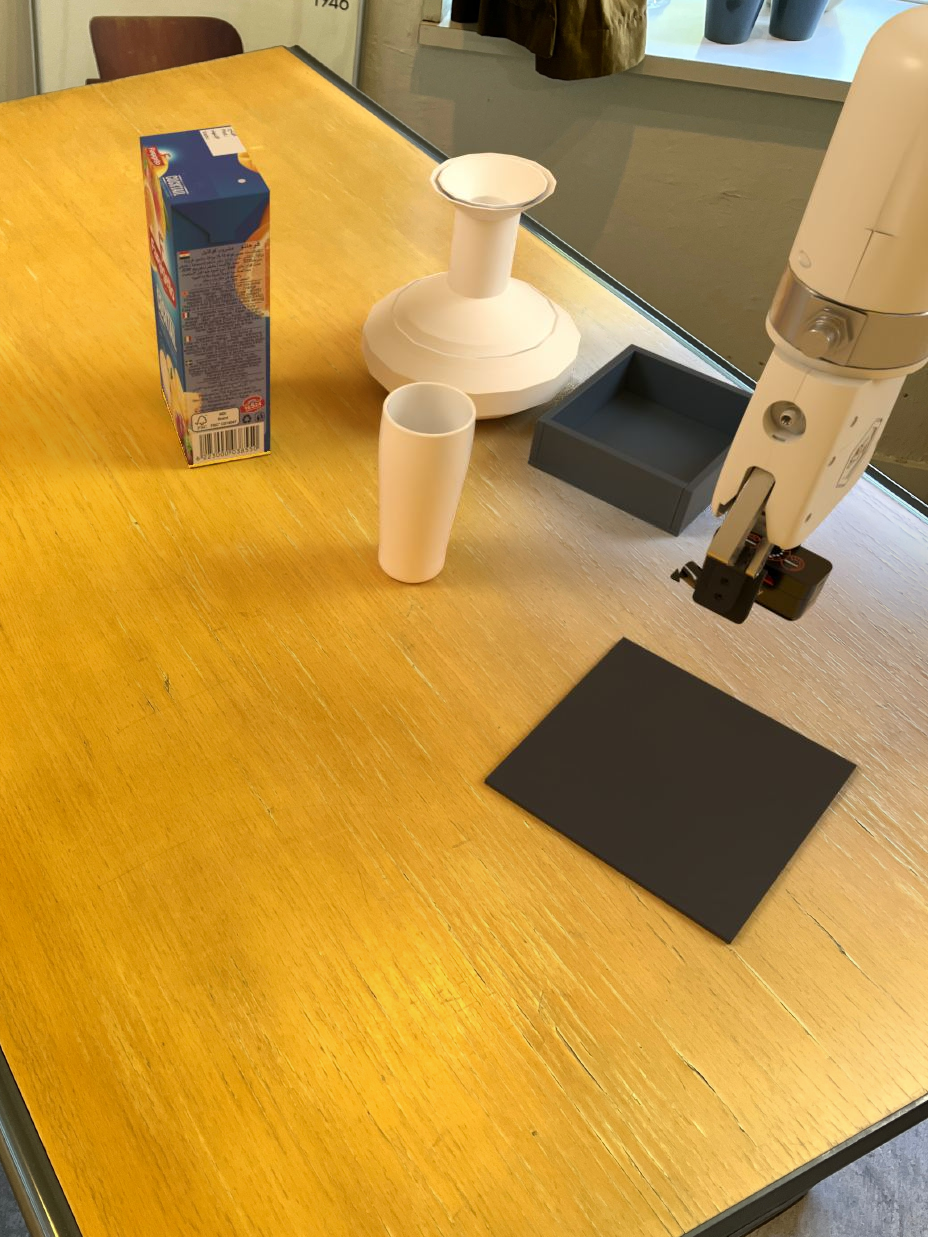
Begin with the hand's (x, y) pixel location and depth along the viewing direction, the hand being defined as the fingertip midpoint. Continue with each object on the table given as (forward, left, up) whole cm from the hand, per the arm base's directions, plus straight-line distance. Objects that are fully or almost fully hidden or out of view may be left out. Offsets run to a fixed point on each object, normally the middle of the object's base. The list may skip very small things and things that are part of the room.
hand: (740, 584), depth 67 cm
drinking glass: (+25, -3, -16) cm, 29 cm away
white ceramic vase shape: (+37, -27, -16) cm, 48 cm away
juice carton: (+50, -6, -16) cm, 53 cm away
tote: (+18, -28, -16) cm, 36 cm away
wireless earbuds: (0, 0, -1) cm, 1 cm away
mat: (-1, +2, -16) cm, 16 cm away
